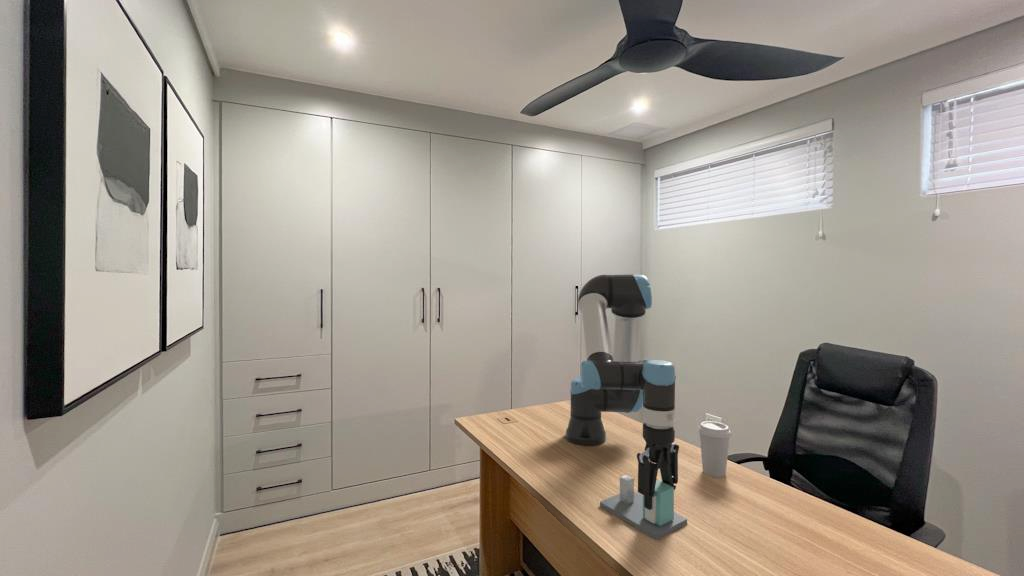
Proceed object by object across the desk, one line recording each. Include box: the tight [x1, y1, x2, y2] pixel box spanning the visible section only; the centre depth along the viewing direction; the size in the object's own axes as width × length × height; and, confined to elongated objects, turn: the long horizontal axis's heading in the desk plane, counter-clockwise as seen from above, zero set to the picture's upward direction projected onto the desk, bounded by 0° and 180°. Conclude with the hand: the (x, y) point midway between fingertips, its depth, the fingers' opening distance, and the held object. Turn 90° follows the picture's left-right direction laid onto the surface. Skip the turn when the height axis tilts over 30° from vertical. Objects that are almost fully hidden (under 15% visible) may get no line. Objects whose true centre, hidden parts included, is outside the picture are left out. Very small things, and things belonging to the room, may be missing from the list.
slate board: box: [599, 491, 688, 541], centre depth 110 cm, size 18×12×1 cm, turn 34°
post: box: [619, 474, 635, 505], centre depth 114 cm, size 3×3×6 cm
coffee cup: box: [697, 420, 732, 478], centre depth 133 cm, size 10×10×15 cm
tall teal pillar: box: [642, 479, 675, 526], centre depth 105 cm, size 5×5×8 cm
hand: (658, 516), depth 105 cm, fingers closed on tall teal pillar, 5 cm apart
